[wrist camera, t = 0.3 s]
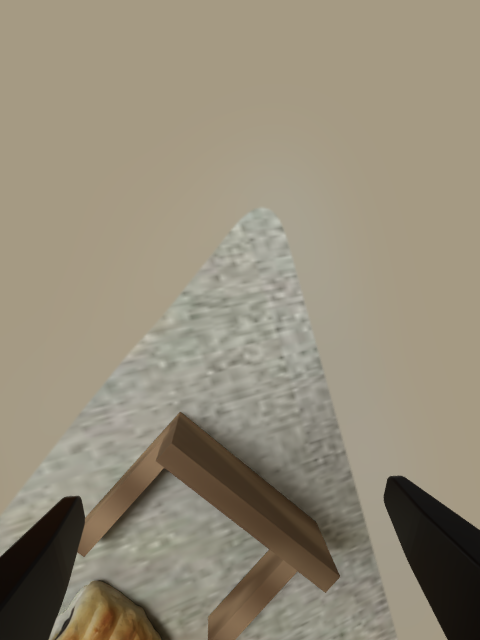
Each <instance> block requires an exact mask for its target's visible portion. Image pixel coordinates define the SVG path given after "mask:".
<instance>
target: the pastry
mask: <svg viewBox="0 0 480 640" xmlns="http://www.w3.org/2000/svg"><path fill="white" fill-rule="evenodd" d="M49 640H162V639H161V637H160V635H159V633H158V632H157V631H155V630H154V628H153V627H152V625H151V623H150V621H149V620H148V619H147V617H146V614H145V611H144V610H143V608H142V607H140V606H136V605H135V604H134V603H133V602H132V601H131V600H129V599H128V598H127V597H125V596H124V595H123V594H122V593H121V592H119V591H118V590H116V589H115V588H113V587H111V586H110V585H108V584H106V583H104V582H101V581H92V582H91V583H90V584H89V585H86V586H84V587H83V588H82V589H81V590H80V591H79V592H78V593H77V595H76V596H75V598H74V600H73V601H72V602H71V604H70V606H69V608H68V609H67V610H66V611H65V612H63V613H61V614H60V615H59V616H58V617H57V618H56V621H55V624H54V626H53V629H52V632H51V634H50V637H49Z"/></svg>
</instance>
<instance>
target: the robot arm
mask: <svg viewBox="0 0 480 640" xmlns="http://www.w3.org/2000/svg"><path fill="white" fill-rule="evenodd" d="M384 503H385V506H386V509H387V511H388V514H389V516H390V518H391V521H392V523H393V526H394V529H395V531H396V533H397V536H398V538H399V541H400V543H401V546H402V548H403V551H404V553H405V555H406V558H407V560H408V562H409V564H410V566H411V569H412V570H413V573H414V574H415V577H416V578H417V580H418V582H419V584H420V586H421V588H422V590H423V592H424V594H425V596H426V598H427V600H428V602H429V604H430V606H431V608H432V610H433V612H434V614H435V616H436V618H437V620H438V622H439V624H440V625H441V628H442V630H443V632H444V634H445V636H446V637H447V639H448V640H480V530H479V529H477V528H476V527H475V526H473V525H472V524H470V523H469V522H467V521H466V520H465V519H463V518H462V517H460V516H459V515H458V514H456V513H455V512H453V511H452V510H451V509H449V508H447V507H446V506H445V505H443V504H442V503H441V502H439V501H438V500H436V499H435V498H434V497H432V496H431V495H429V494H428V493H426V492H425V491H423V490H422V489H421V488H419V487H418V486H416V485H415V484H414V483H412V482H411V481H409V480H408V479H407V478H405V477H403V476H390V477H389V478H388V479H387V484H386V488H385V493H384ZM84 525H85V514H84V509H83V504H82V500H81V497H80V496H67V497H64V498H63V499H61V500H60V501H59V502H58V503H57V504H56V505H55V506H54V507H53V508H52V509H51V510H50V511H48V512H47V513H46V514H45V515H44V516H43V517H42V518H41V519H40V520H39V521H38V522H37V523H36V524H35V525H34V526H32V527H31V528H30V529H29V530H28V531H27V532H26V533H25V534H24V535H23V536H22V537H21V538H20V539H19V540H18V541H17V542H15V543H14V544H13V545H12V546H11V547H10V548H9V549H8V550H7V551H6V552H5V553H4V554H3V555H2V556H1V557H0V640H49V637H50V634H51V632H52V629H53V626H54V624H55V621H56V618H57V616H58V613H59V610H60V608H61V605H62V602H63V599H64V596H65V593H66V590H67V587H68V584H69V580H70V577H71V573H72V569H73V566H74V562H75V558H76V555H77V551H78V547H79V544H80V540H81V536H82V533H83V529H84Z"/></svg>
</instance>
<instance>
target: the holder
mask: <svg viewBox="0 0 480 640" xmlns="http://www.w3.org/2000/svg"><path fill="white" fill-rule="evenodd" d="M163 468H165V469H167V470H168V471H169V472H170V473H172V474H173V475H174V476H176V477H177V478H178V479H179V480H181V481H182V482H183V483H185V484H186V485H187V486H188V487H190V488H191V489H192V490H194V491H195V492H196V493H198V494H199V495H200V496H201V497H203V498H204V499H205V500H207V501H208V502H209V503H210V504H212V505H213V506H214V507H216V508H217V509H218V510H219V511H221V512H222V513H223V514H225V515H226V516H227V517H228V518H230V519H231V520H232V521H234V522H235V523H236V524H237V525H239V526H240V527H241V528H243V529H244V530H245V531H247V532H248V533H249V534H250V535H252V536H253V537H254V538H256V539H257V540H258V541H259V542H261V543H262V544H263V545H265V546H266V547H267V548H268V549H269V550H268V552H267V553H266V554H265V555H264V556H263V557H262V558H261V559H260V560H259V561H258V563H257V564H256V565H255V566H254V567H253V568H252V569H251V570H250V571H249V572H248V574H247V575H246V576H245V577H244V578H243V579H242V580H241V581H240V582H239V583H238V585H237V586H236V587H235V588H234V589H233V590H232V591H231V592H230V593H229V594H228V596H227V597H226V598H225V599H224V600H223V601H222V602H221V603H220V604H219V606H218V607H217V608H216V609H215V610H214V611H213V612H212V613H211V614H210V615H209V617H208V640H235V639H236V638H237V637H238V636H239V635H240V634H241V633H242V631H243V630H244V629H245V628H246V627H247V626H248V625H249V624H250V623H251V622H252V620H253V619H254V618H255V617H256V616H257V615H258V614H259V613H260V612H261V611H262V609H263V608H264V607H265V606H266V605H267V604H268V603H269V602H270V601H271V600H272V599H273V597H274V596H275V595H276V594H277V593H278V592H279V591H280V590H281V589H282V588H283V586H284V585H285V584H286V583H287V582H288V581H289V580H290V579H291V578H292V577H293V575H294V574H295V573H296V572H297V571H298V572H299V573H301V574H302V575H303V576H305V577H306V578H307V579H308V580H310V581H311V582H312V583H314V584H315V585H316V586H317V587H319V588H320V589H321V590H323V591H324V592H325V593H326V592H327V591H328V589H329V588H330V587H331V586H332V585H333V584H334V583H335V582H336V581H337V580H338V579H339V577H340V575H339V573H338V571H337V568H336V566H335V564H334V562H333V559H332V557H331V555H330V552H329V550H328V548H327V546H326V543H325V541H324V539H323V537H322V534H321V532H320V530H319V528H318V525H317V523H316V522H315V521H314V520H313V519H312V518H310V517H309V516H308V515H307V514H305V513H304V512H303V511H302V510H300V509H299V508H298V507H297V506H296V505H294V504H293V503H292V502H291V501H289V500H288V499H287V498H286V497H284V496H283V495H282V494H281V493H280V492H278V491H277V490H276V489H275V488H273V487H272V486H271V485H270V484H268V483H267V482H266V481H265V480H264V479H262V478H261V477H260V476H259V475H257V474H256V473H255V472H254V471H252V470H251V469H250V468H249V467H247V466H246V465H245V464H244V463H243V462H241V461H240V460H239V459H238V458H236V457H235V456H234V455H233V454H231V453H230V452H229V451H228V450H227V449H225V448H224V447H223V446H222V445H220V444H219V443H218V442H217V441H215V440H214V439H213V438H212V437H211V436H209V435H208V434H207V433H206V432H204V431H203V430H202V429H201V428H199V427H198V426H197V425H196V424H195V423H193V422H192V421H191V420H190V419H188V418H187V417H186V416H185V415H183V414H182V413H181V412H180V413H179V414H178V415H177V416H176V417H175V418H174V419H173V420H172V422H171V423H170V424H169V425H168V426H167V427H166V428H165V429H164V430H163V432H162V433H161V434H160V435H159V436H158V437H157V438H156V439H155V441H154V442H153V443H152V444H151V445H150V446H149V447H148V448H147V450H146V451H145V452H144V453H143V454H142V455H141V456H140V457H139V458H138V460H137V461H136V462H135V463H134V464H133V465H132V466H131V467H130V469H129V470H128V471H127V472H126V473H125V474H124V475H123V476H122V477H121V479H120V480H119V481H118V482H117V483H116V484H115V485H114V486H113V488H112V489H111V490H110V491H109V492H108V493H107V494H106V495H105V496H104V498H103V499H102V500H101V501H100V502H99V503H98V504H97V505H96V507H95V508H94V509H93V510H92V511H91V512H90V513H89V514H88V516H87V517H86V518H85V525H84V529H83V533H82V536H81V540H80V544H79V547H78V551H77V552H78V553H79V554H81V555H82V556H83V557H85V555H86V554H87V553H88V552H89V551H90V550H91V549H92V548H93V547H94V545H95V544H96V543H97V542H98V541H99V540H100V539H101V538H102V536H103V535H104V534H105V533H106V532H107V531H108V530H109V529H110V528H111V526H112V525H113V524H114V523H115V522H116V521H117V520H118V519H119V518H120V516H121V515H122V514H123V513H124V512H125V511H126V510H127V509H128V507H129V506H130V505H131V504H132V503H133V502H134V501H135V500H136V499H137V497H138V496H139V495H140V494H141V493H142V492H143V491H144V490H145V488H146V487H147V486H148V485H149V484H150V483H151V482H152V481H153V480H154V478H155V477H156V476H157V475H158V474H159V473H160V472H161V471H162V470H163Z"/></svg>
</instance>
